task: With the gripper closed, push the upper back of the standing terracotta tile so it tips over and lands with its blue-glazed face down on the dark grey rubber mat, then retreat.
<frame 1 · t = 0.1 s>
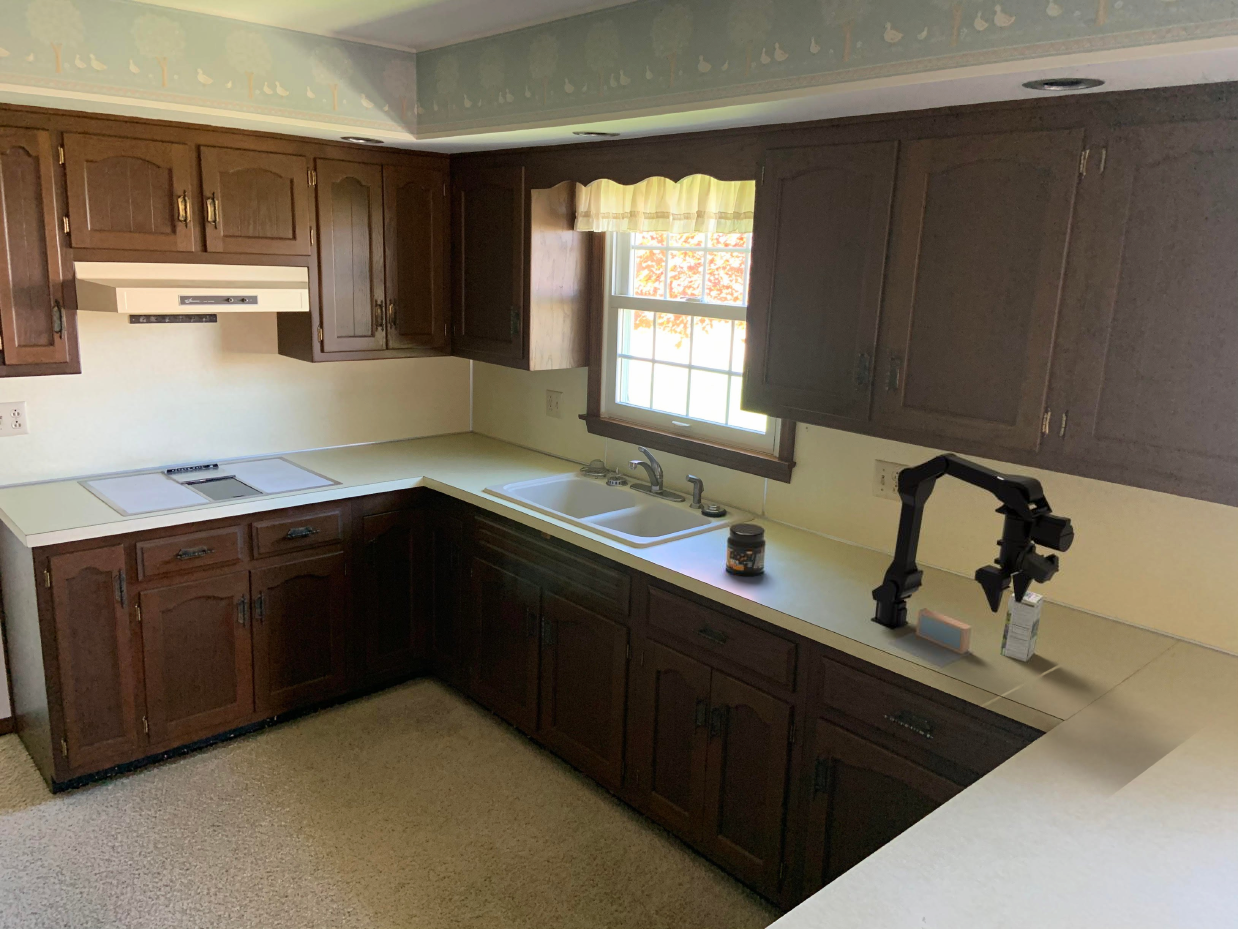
hand: (1006, 606, 192), 15 cm above the countertop, fingers open, 9 cm apart
syrup box: (1017, 655, 202), on the countertop
mat: (929, 649, 204), on the countertop
tile: (941, 642, 207), resting on mat
supplement container: (744, 570, 248), on the countertop
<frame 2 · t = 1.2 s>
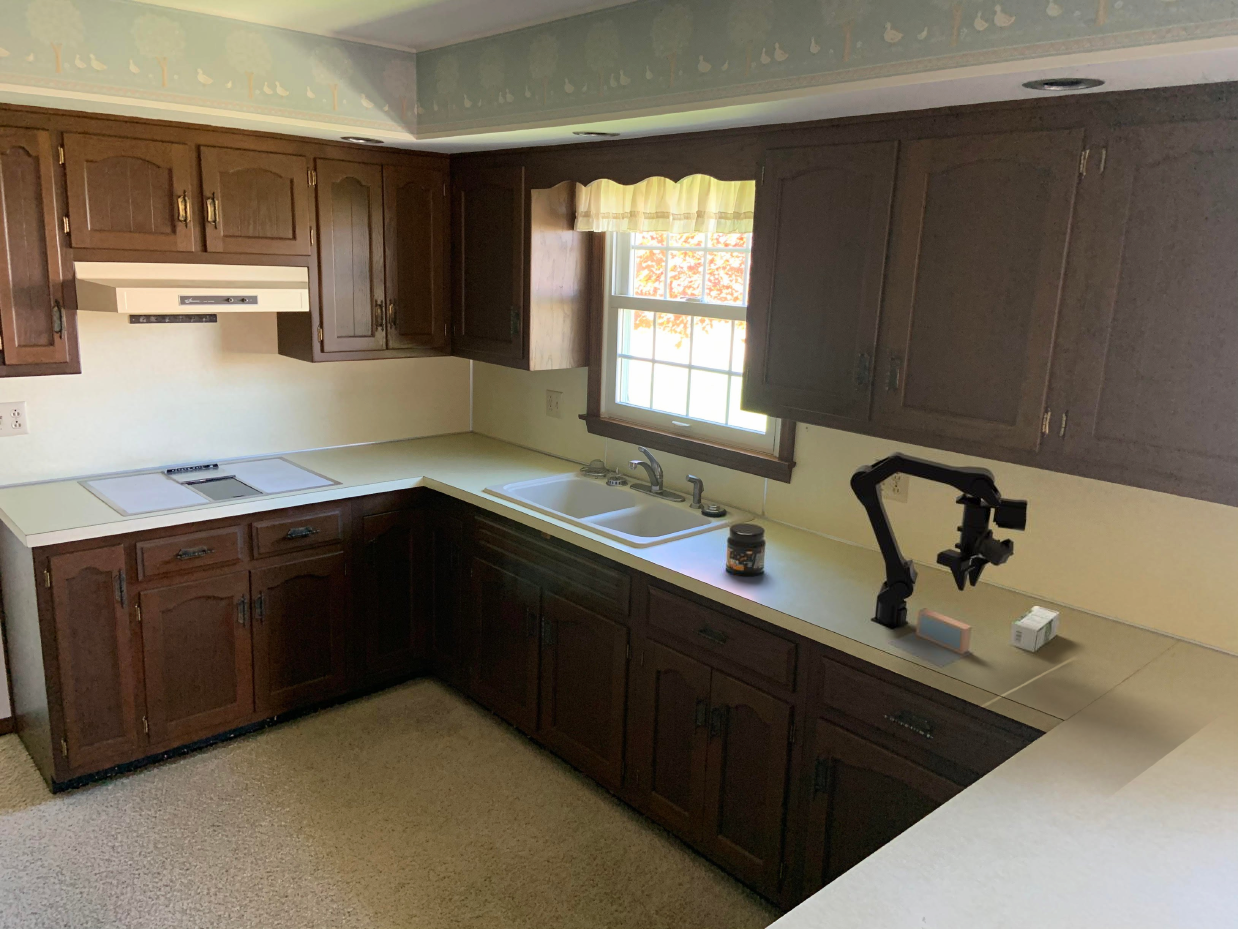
hand: (966, 588, 208), 12 cm above the countertop, fingers open, 4 cm apart
syrup box: (1023, 638, 204), point 3 cm above the countertop
everything else where it was.
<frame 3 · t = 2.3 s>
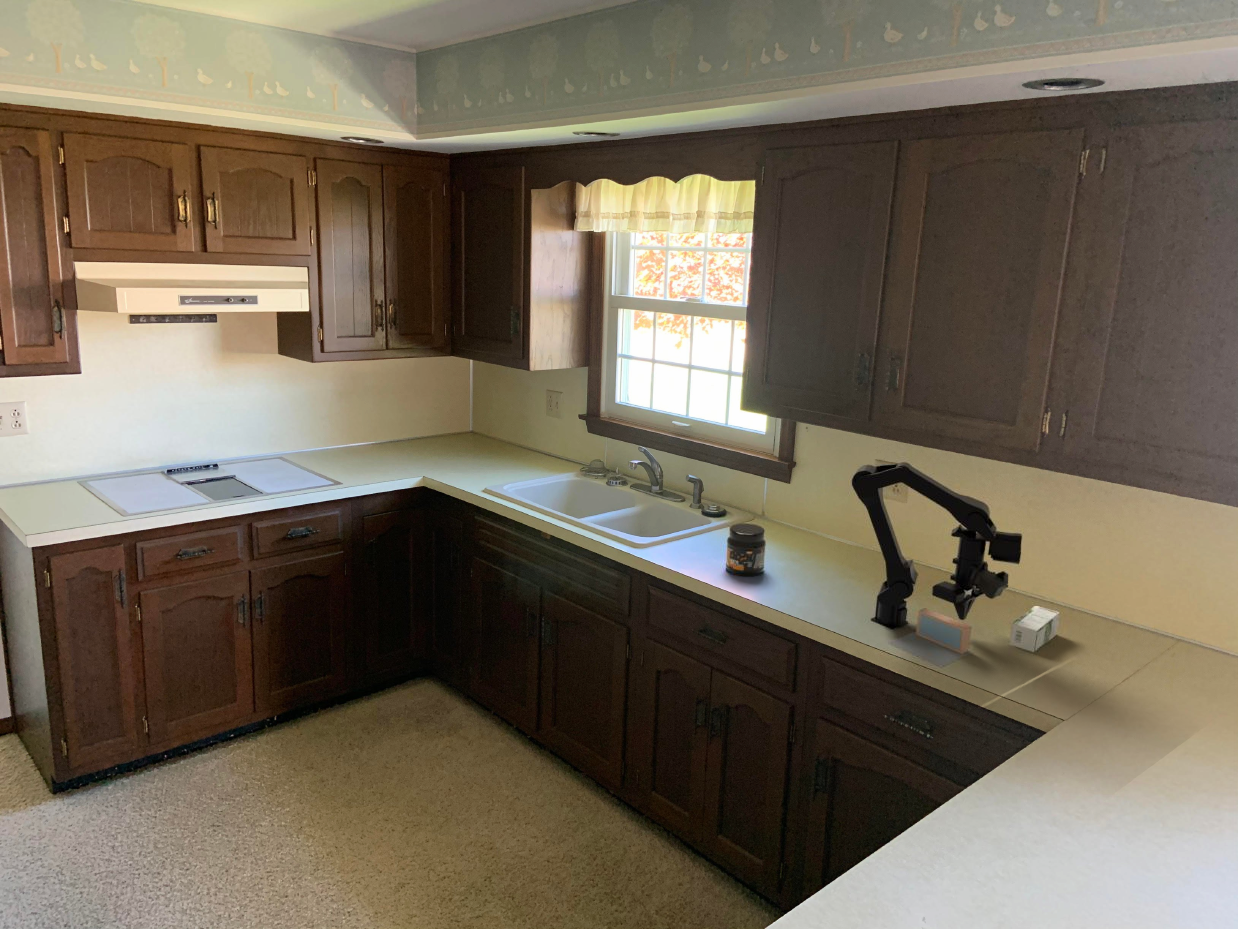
hand: (962, 619, 210), 4 cm above the countertop, fingers closed
nothing on the countertop moved.
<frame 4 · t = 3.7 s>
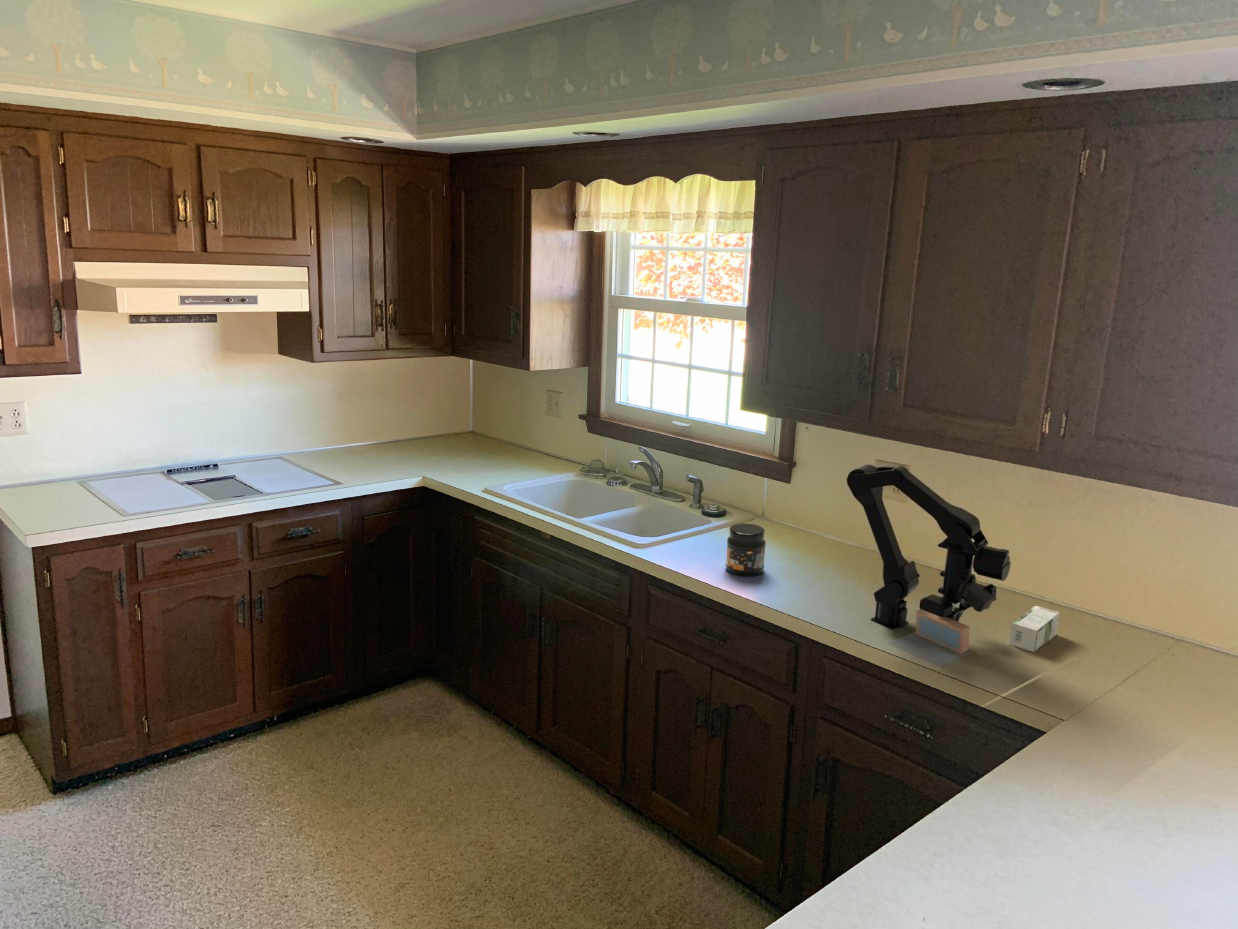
hand: (950, 632, 208), 2 cm above the countertop, fingers closed
tile: (941, 641, 207), point 1 cm above the countertop, tilted 9°, touching mat
everything else where it was.
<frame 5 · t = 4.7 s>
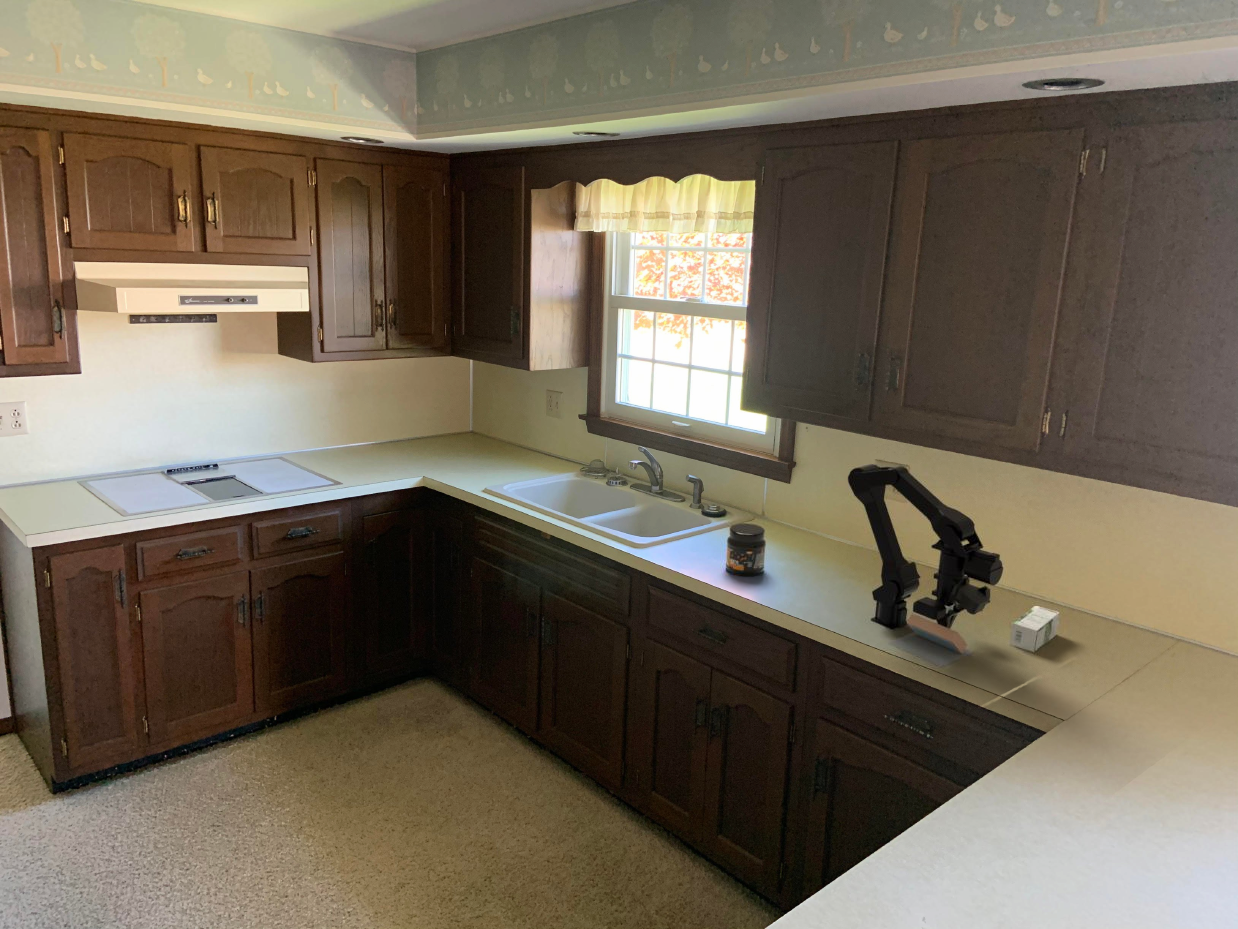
hand: (944, 634, 207), 2 cm above the countertop, fingers closed
tile: (941, 639, 206), point 1 cm above the countertop, tilted 46°, touching gripper, mat
everything else where it was.
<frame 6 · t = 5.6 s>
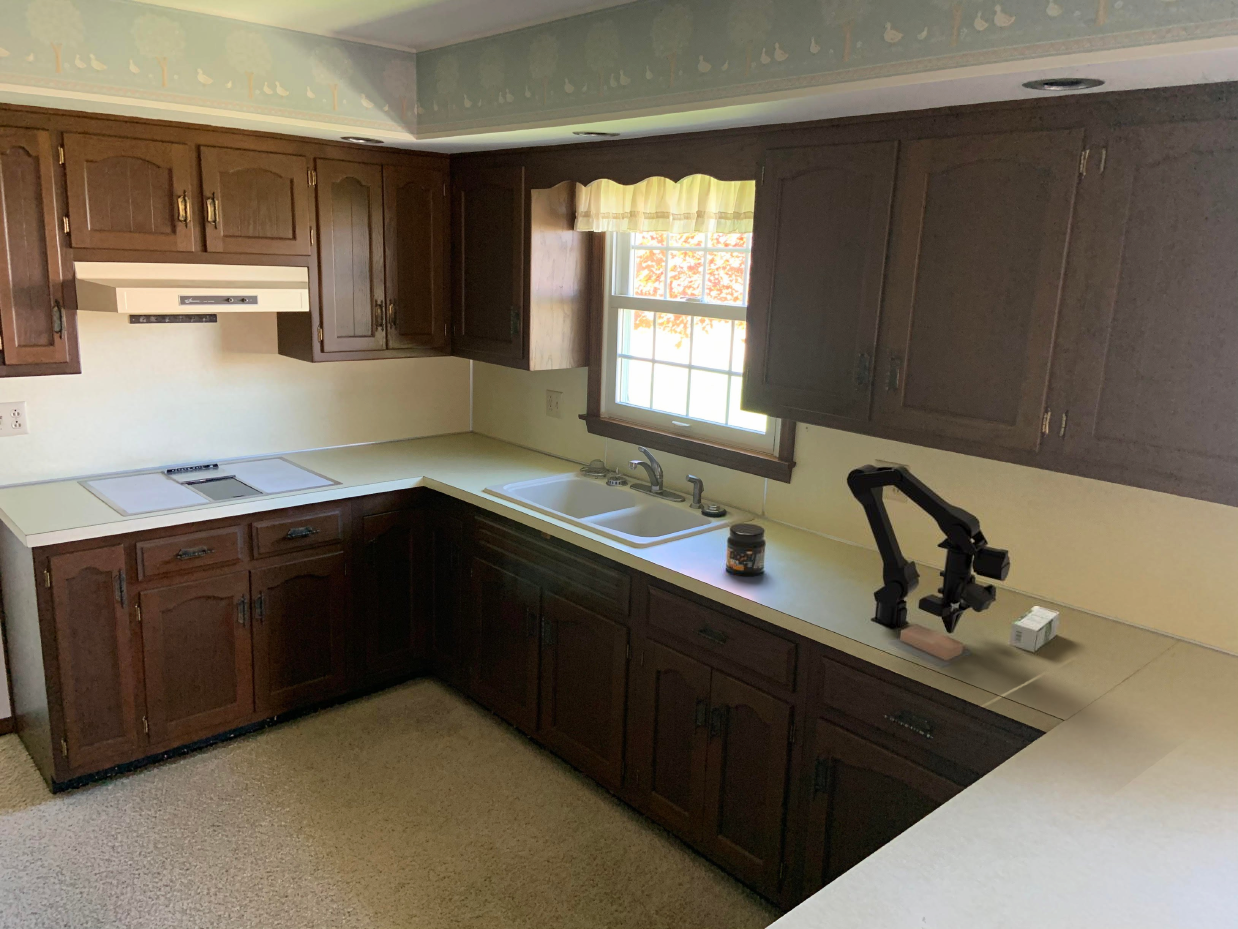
hand: (949, 632, 208), 2 cm above the countertop, fingers closed
tile: (939, 638, 206), point 2 cm above the countertop, tilted 90°, touching mat
everything else where it was.
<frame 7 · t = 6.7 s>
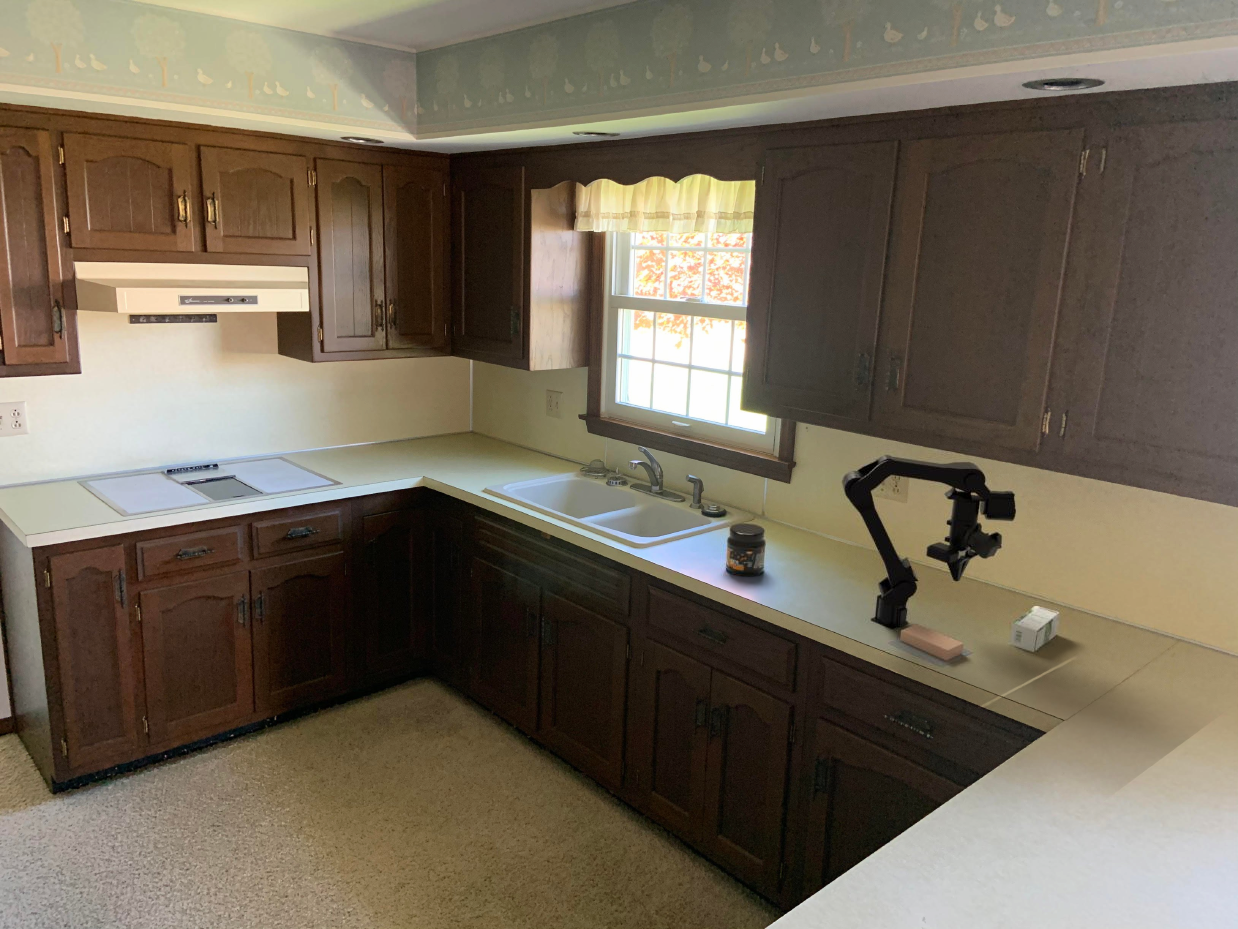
hand: (956, 580, 212), 12 cm above the countertop, fingers closed
nothing on the countertop moved.
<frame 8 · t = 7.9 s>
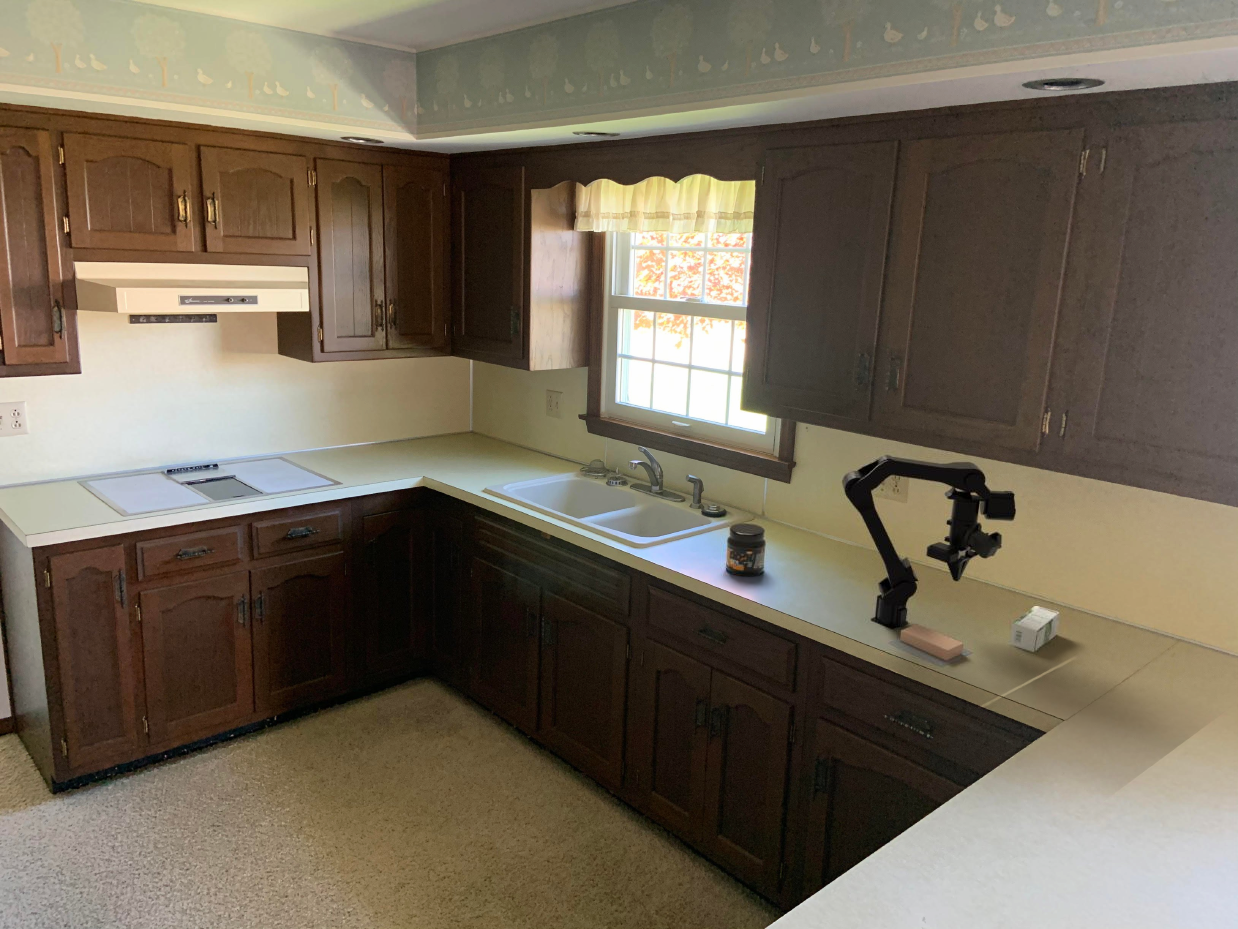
hand: (956, 580, 212), 12 cm above the countertop, fingers closed
nothing on the countertop moved.
at the end: tile tilted 90°; tile inside the target area on the mat (3.2 cm from its centre), point 1.8 cm above the mat's base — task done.
